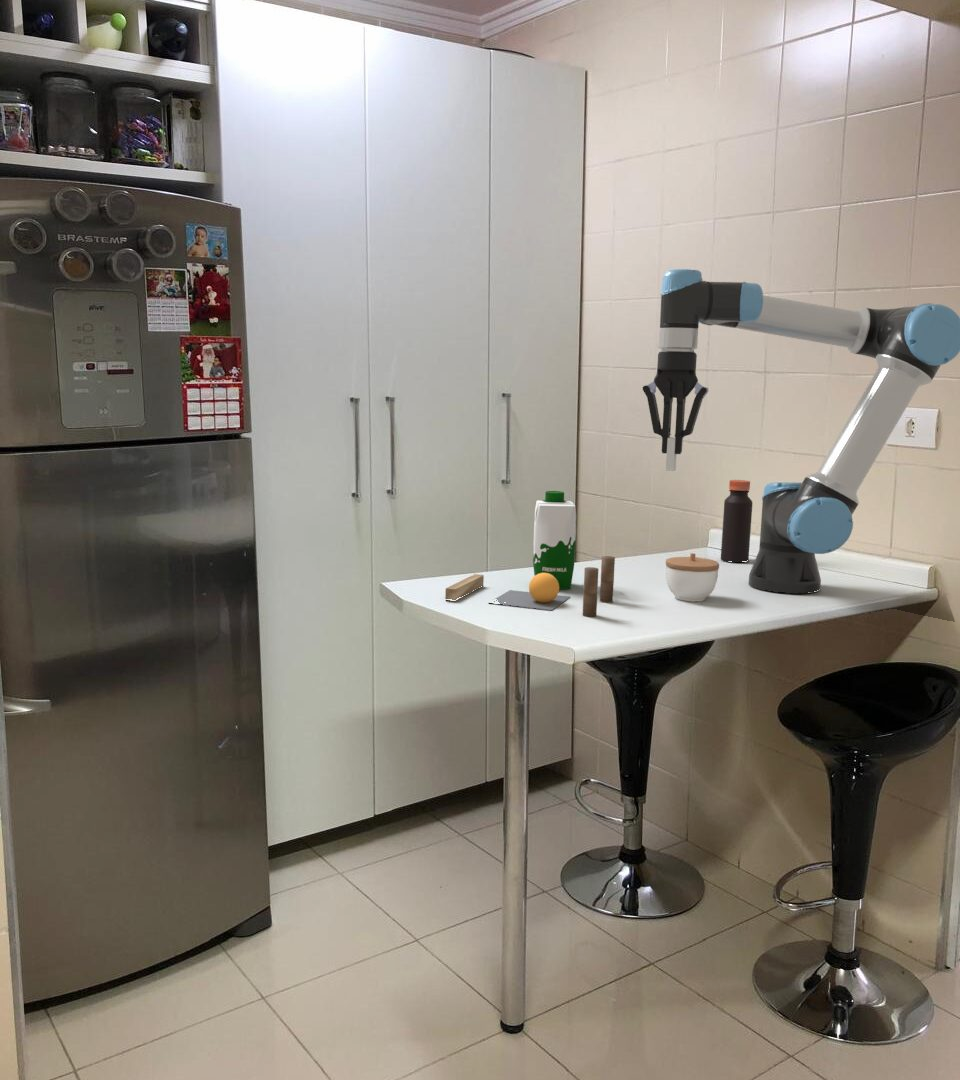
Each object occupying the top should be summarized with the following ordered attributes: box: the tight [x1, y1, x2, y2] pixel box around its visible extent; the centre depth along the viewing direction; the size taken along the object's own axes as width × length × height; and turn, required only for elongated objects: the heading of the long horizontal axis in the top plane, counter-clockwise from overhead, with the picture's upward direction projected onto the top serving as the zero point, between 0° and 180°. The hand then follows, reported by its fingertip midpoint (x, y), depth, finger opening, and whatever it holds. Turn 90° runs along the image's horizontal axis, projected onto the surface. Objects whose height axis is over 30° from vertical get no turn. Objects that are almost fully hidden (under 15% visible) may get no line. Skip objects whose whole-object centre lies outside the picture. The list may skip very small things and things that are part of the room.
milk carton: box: [532, 490, 577, 590], centre depth 216 cm, size 9×9×20 cm
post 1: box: [582, 566, 600, 618], centre depth 192 cm, size 3×3×9 cm
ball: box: [528, 573, 560, 603], centre depth 202 cm, size 6×6×6 cm
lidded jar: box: [665, 552, 720, 603], centre depth 209 cm, size 11×11×9 cm
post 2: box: [599, 555, 616, 604], centre depth 204 cm, size 3×3×9 cm
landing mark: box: [494, 589, 571, 611], centre depth 204 cm, size 13×13×1 cm
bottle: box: [720, 479, 753, 562], centre depth 251 cm, size 7×7×20 cm
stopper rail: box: [444, 573, 485, 600], centre depth 208 cm, size 2×16×2 cm, turn 159°
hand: (670, 470), depth 204 cm, fingers closed
